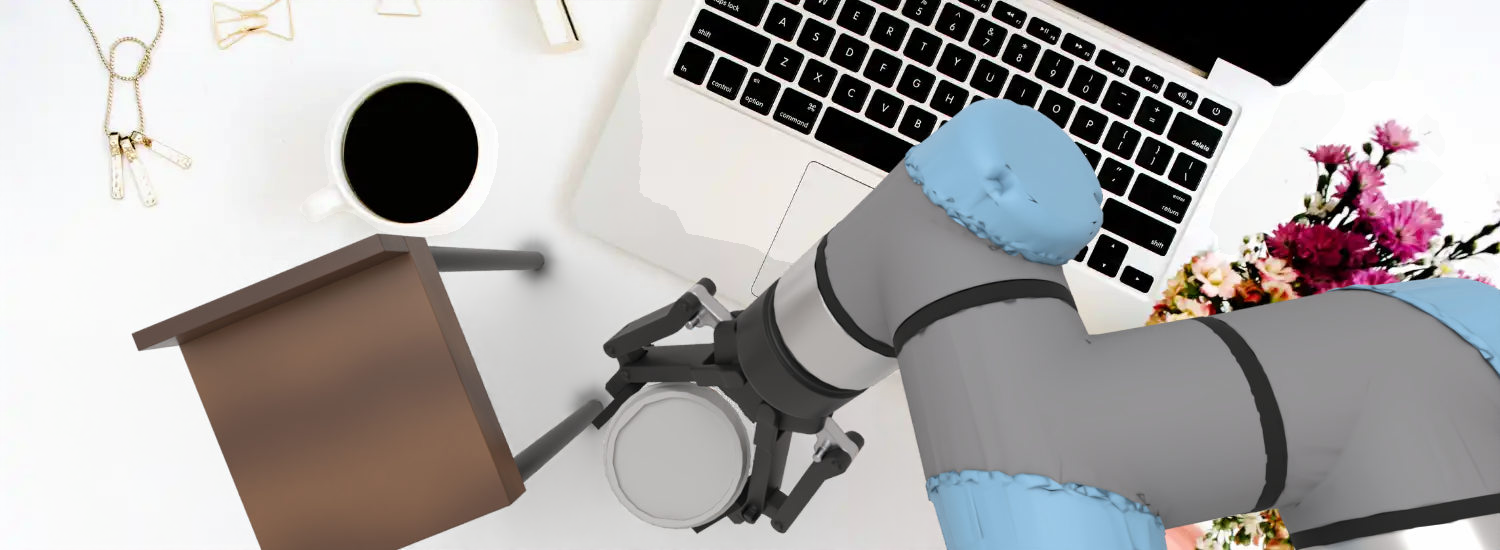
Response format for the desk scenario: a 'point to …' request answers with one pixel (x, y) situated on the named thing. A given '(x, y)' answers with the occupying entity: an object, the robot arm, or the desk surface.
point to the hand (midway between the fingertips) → (655, 465)
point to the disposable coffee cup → (676, 455)
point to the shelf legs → (519, 260)
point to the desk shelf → (347, 401)
